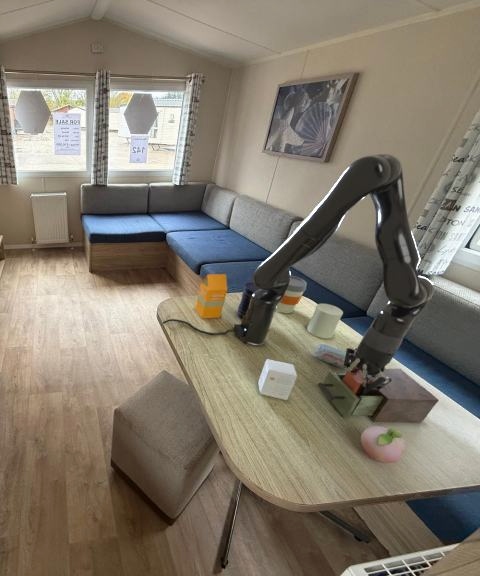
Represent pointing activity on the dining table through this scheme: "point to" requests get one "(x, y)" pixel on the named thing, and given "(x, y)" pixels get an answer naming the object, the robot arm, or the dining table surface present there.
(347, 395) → the drawer
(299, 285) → the reusable coffee cup
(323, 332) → the can
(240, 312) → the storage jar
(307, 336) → the dining table surface
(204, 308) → the orange juice
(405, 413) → the cabinet
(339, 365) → the packaged food
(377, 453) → the decorative fruit
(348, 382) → the block
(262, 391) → the small box
